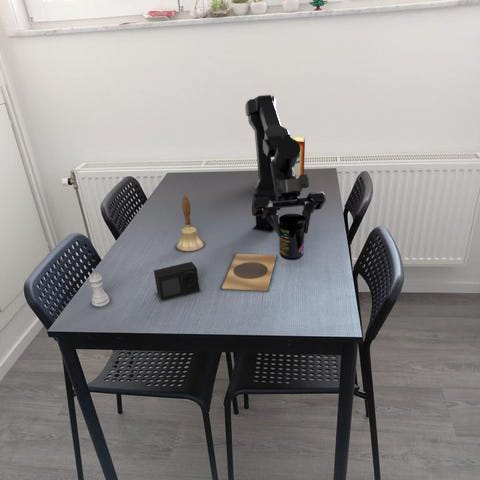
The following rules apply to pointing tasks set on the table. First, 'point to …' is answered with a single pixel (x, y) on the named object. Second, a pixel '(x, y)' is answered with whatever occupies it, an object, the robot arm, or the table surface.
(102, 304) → the rook chess piece
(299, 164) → the baking soda box
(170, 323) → the table surface
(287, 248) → the supplement container
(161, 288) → the digital camera
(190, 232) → the hand bell
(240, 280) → the placemat
